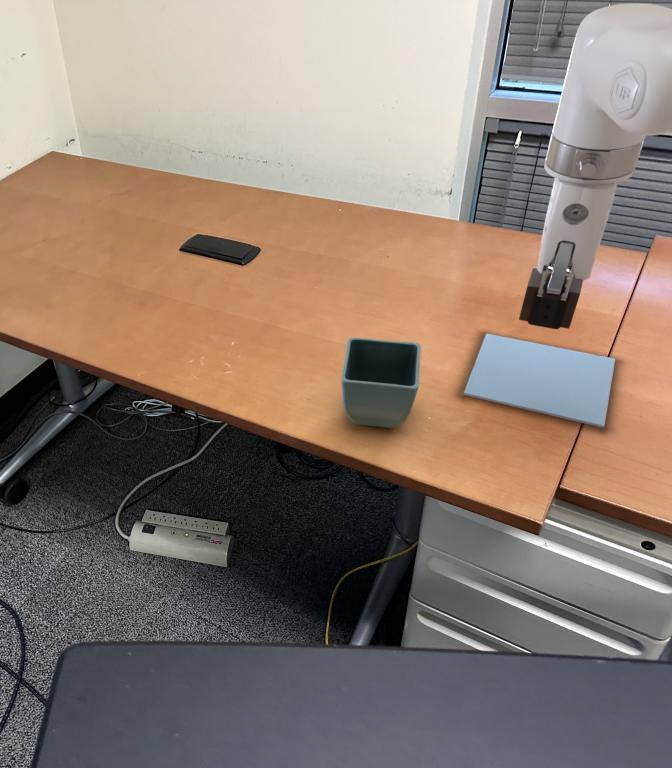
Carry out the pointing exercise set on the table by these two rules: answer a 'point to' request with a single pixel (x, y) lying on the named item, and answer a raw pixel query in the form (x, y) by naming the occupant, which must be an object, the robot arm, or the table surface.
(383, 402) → the flower pot
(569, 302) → the walnut block
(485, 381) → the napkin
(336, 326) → the table surface
